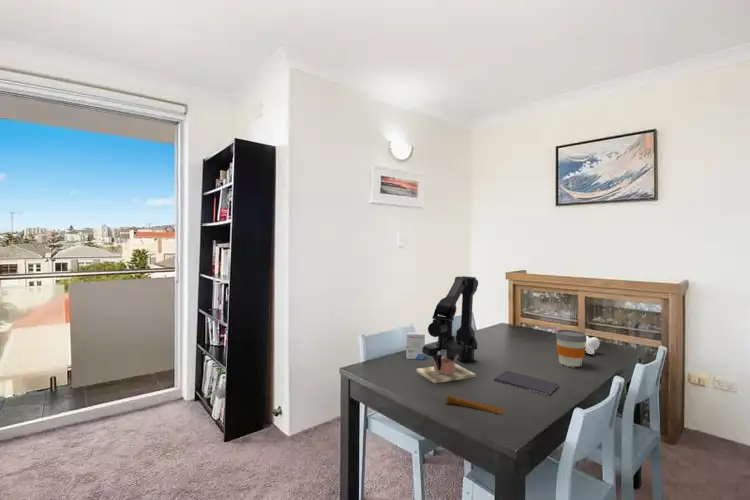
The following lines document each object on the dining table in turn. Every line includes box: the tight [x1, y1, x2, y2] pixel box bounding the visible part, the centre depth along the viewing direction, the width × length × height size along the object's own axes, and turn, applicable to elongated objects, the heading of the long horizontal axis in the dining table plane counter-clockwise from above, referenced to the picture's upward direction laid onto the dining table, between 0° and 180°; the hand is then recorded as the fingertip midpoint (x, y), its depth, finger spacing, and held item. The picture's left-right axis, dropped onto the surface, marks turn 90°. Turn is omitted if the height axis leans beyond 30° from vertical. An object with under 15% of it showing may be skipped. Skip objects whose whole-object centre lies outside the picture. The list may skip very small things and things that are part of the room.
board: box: [416, 363, 476, 384], centre depth 157 cm, size 20×14×1 cm
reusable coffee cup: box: [555, 329, 587, 366], centre depth 173 cm, size 13×13×15 cm
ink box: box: [405, 331, 426, 360], centre depth 179 cm, size 9×5×12 cm, turn 84°
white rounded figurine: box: [585, 334, 601, 355], centre depth 192 cm, size 11×12×9 cm
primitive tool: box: [445, 393, 505, 415], centre depth 127 cm, size 19×6×4 cm, turn 74°
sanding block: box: [433, 355, 456, 375], centre depth 157 cm, size 4×8×5 cm, turn 29°
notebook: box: [493, 370, 560, 394], centre depth 149 cm, size 13×2×21 cm
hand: (444, 369), depth 157 cm, fingers closed on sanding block, 5 cm apart
